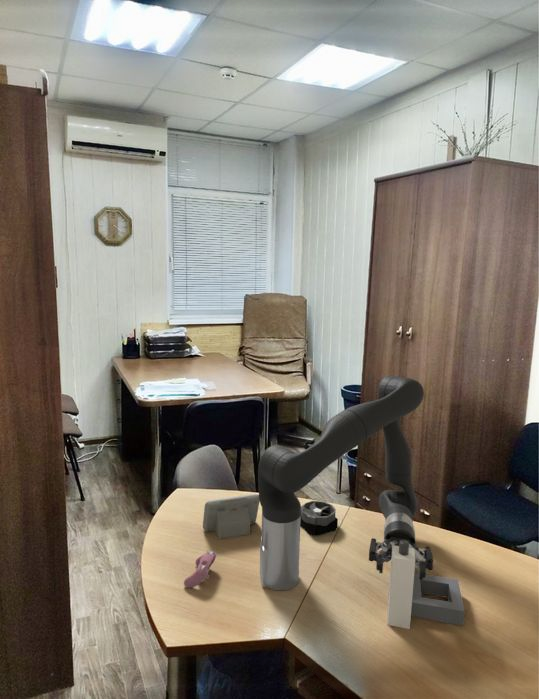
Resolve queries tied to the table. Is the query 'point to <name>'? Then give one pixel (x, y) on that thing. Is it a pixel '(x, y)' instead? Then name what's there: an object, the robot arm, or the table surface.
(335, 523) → the cpu cooler
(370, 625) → the table surface
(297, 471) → the robot arm
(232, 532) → the digital clock
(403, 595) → the plug
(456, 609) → the socket
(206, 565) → the pink curved piece
